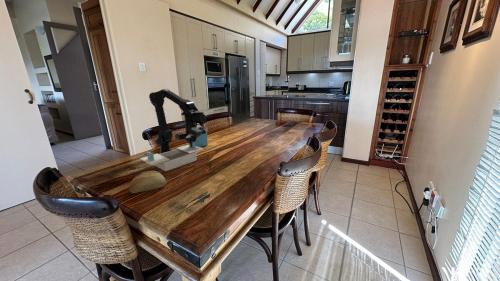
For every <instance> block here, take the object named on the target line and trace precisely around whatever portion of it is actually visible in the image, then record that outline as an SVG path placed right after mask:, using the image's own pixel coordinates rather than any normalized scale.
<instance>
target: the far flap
mask: <svg viewBox="0 0 500 281" xmlns="http://www.w3.org/2000/svg"><path fill="white" fill-rule="evenodd" d="M176 149H179V150H182V151H184V152H187V153H193V152H196V153H197V152H200V151H202V150H204V148H203V147H197V146H195V142H194V141H192V147H190V145H189V144H186V145H182V146H179V147H176Z"/></svg>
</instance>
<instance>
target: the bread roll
mask: <svg viewBox="0 0 500 281" xmlns="http://www.w3.org/2000/svg"><path fill="white" fill-rule="evenodd" d="M166 184H167V179H166V178H165V177H164V176H163V174H162V172H159V171H156V170H146V171H145V170H144V171H142V172H140V173H138V174H136V175H134V177H133V178H132V180H131V181H130V184H129V186H128V192H129V193H131V194H138V193H142V192H146V191H152V190H156V189H157V190H158V189H161V188H164V187H165V185H166Z"/></svg>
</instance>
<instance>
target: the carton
mask: <svg viewBox="0 0 500 281" xmlns="http://www.w3.org/2000/svg"><path fill="white" fill-rule="evenodd" d="M171 150H172V149H171ZM158 154H159V155H161V156H164V157H166V158H168V159H170V160H168V161H165V162H162V163H159V164H156V165H154V166H155V167H156V168H159V169H160V170H163V171H164V172H167V171H170V170H174V169H177V168H179V167H182V166H184V165H188V164H191V163H193V162H196V161H197V160H198V158H197V157H198V156H197V151H196V152H193V153H187V152H184V151H182V150H179V149H177V148H176V149H173V150H172V151H169V152H165V153H158Z"/></svg>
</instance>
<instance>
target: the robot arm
mask: <svg viewBox="0 0 500 281" xmlns="http://www.w3.org/2000/svg"><path fill="white" fill-rule="evenodd" d="M148 97H149V100H150V104H151V105H152V106H153V107H154V111H155V114H156V119H157V123H158V132H157V133H158V134H157V136H158V137H157V139H155V144H156V145H159V146H160V148H159V149H160V150H158V152H159V153H160V154H162V153H165V152H169V151H172V149H170V143H171V142H172V139H173V136H174V138H175V139H176V140H180V141H182V140H186V142H187V145H190V147H192V141H194V142H196V139H197V137H199V136H201V134H206V131H207V130H206V129H205V128H204V127H203V126H199V127H197V124H201V125H202V124H203V125H204V124H205V123H206V122H207V117H206V115H205V113H204V111H199V109H198V108H197V106H196V105H195V103H194V101H193V100H189V99H185V98H182V97H181V96H180V95H178V94H176V93H175V92H173V91H171V90H170V89H168V88H163V89H160V90H158V91H155V92H150V93H149V95H148ZM165 98H166V99H168V100H170V101H171V102H173V103H174V104H176V105H177V106H178V107H179V109H180V110H182V113H180V115H181V116H183V117H184V124H183V126H184V127H185V130H184V132H178V133H175V135H174V134H173V130H172V129H170V128H168V124H167V120H166V119H167V118H166V114H165V109H164V104H165Z"/></svg>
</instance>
